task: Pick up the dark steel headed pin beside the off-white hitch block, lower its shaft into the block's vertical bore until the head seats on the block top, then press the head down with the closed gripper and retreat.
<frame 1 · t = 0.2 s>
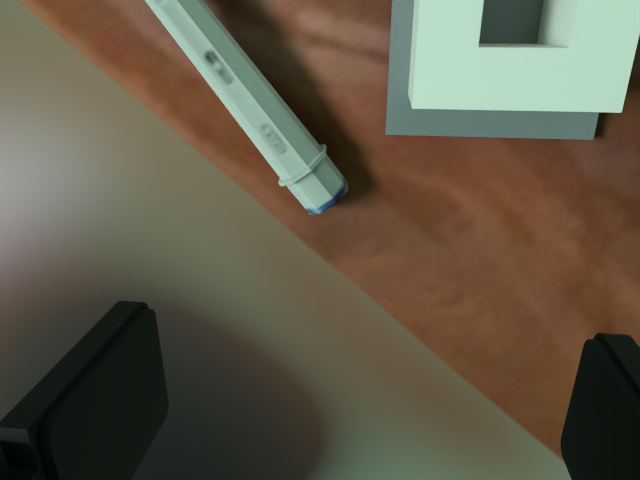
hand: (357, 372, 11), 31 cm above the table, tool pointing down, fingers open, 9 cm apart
light grey piece: (238, 63, 39), on the table
hitch block: (501, 4, 35), on the table
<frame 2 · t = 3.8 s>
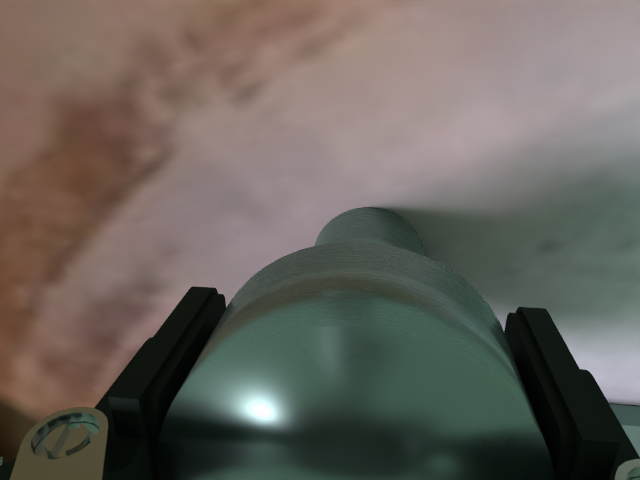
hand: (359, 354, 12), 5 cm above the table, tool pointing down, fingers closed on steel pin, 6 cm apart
steel pin: (368, 259, 16), on the table, touching gripper
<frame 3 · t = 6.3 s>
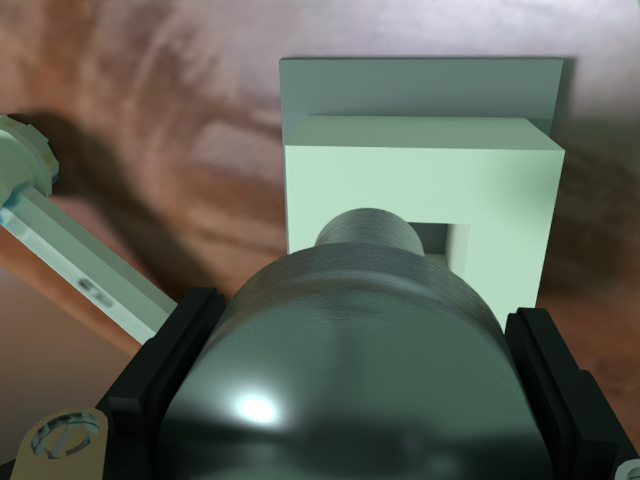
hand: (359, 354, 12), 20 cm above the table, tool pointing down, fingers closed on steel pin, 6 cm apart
steel pin: (367, 260, 16), point 15 cm above the table, touching gripper
light grey piece: (132, 257, 36), on the table
hitch block: (406, 209, 32), on the table
when the fingers open (9 cm above the table, at t = 8.8 s): steel pin drops 2 cm, resting on hitch block.
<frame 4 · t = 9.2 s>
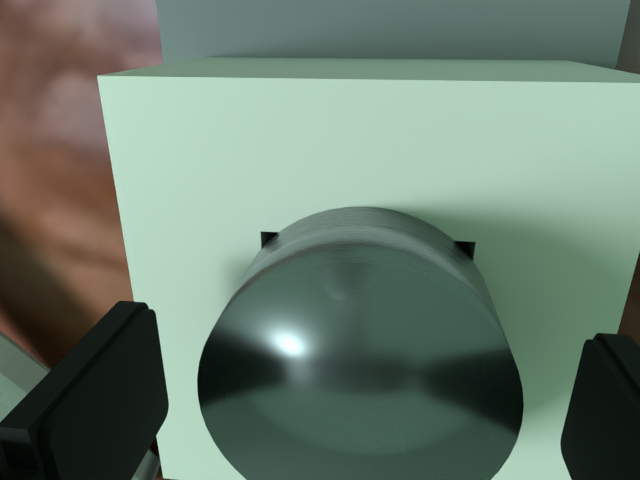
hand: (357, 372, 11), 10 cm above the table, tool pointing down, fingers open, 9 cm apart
steel pin: (369, 235, 18), point 2 cm above the table, touching hitch block
hitch block: (371, 217, 20), on the table
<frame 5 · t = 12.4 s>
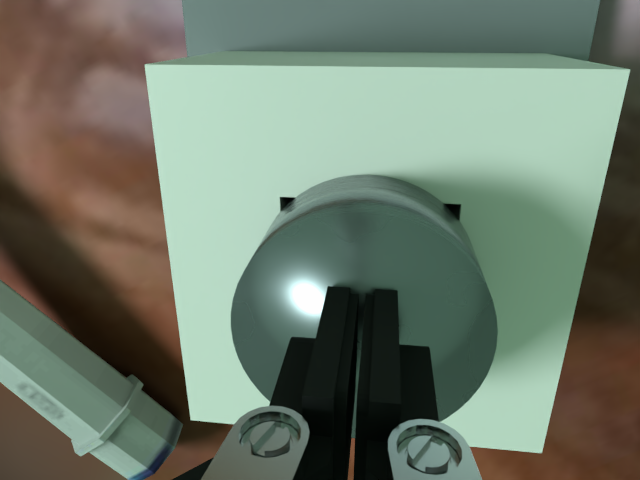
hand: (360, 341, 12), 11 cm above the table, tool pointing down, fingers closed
steel pin: (371, 210, 20), point 2 cm above the table, touching gripper, hitch block
light grey piece: (12, 264, 27), on the table
hitch block: (373, 196, 22), on the table
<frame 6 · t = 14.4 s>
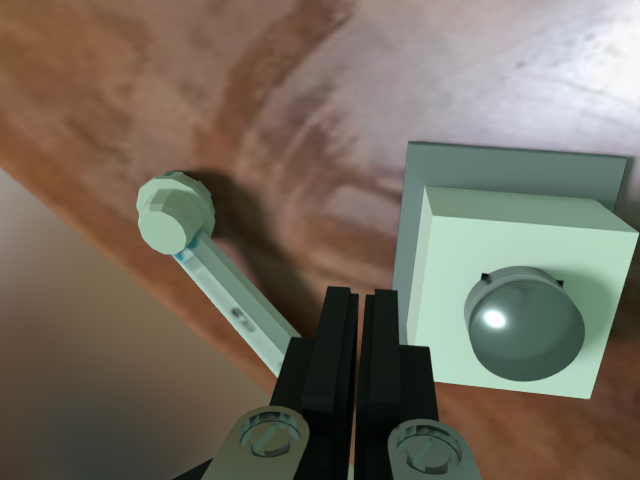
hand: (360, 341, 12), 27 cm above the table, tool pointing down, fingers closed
steel pin: (496, 272, 38), point 2 cm above the table, touching hitch block
light grey piece: (258, 291, 44), on the table
hitch block: (491, 262, 40), on the table
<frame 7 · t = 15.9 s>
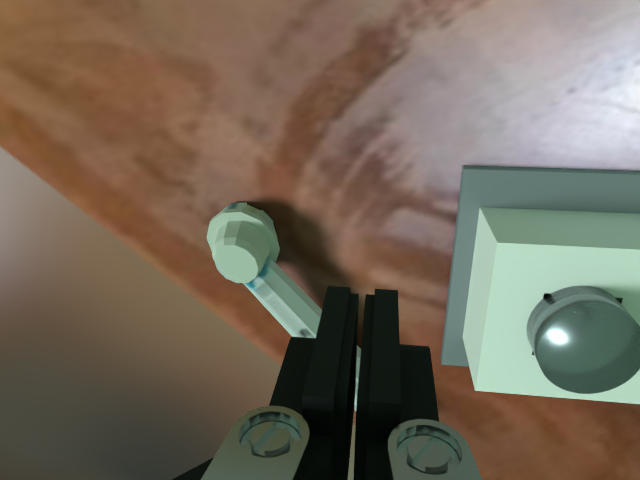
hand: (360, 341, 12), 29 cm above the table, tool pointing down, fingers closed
steel pin: (550, 285, 40), point 2 cm above the table, touching hitch block
light grey piece: (318, 308, 46), on the table
hitch block: (543, 274, 42), on the table
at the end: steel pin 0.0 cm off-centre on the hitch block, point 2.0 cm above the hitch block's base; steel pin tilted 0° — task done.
